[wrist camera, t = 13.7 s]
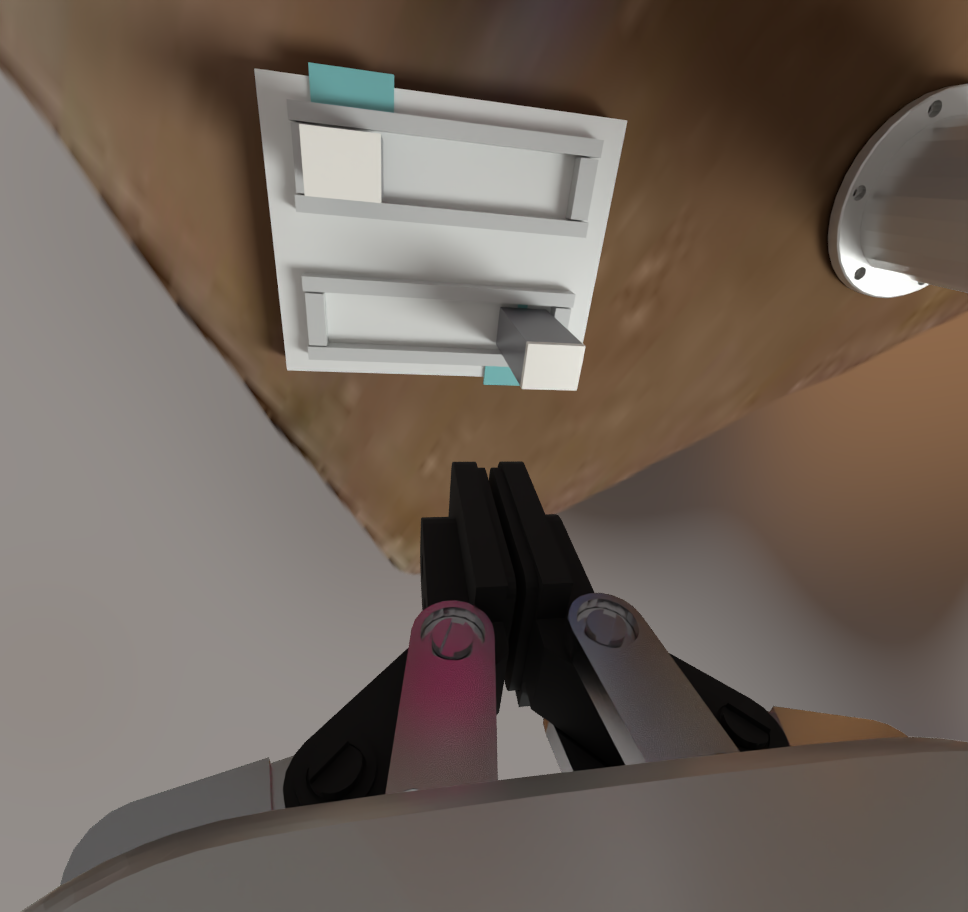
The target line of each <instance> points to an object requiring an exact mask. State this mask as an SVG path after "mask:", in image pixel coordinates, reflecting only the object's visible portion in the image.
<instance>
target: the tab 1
mask: <svg viewBox="0 0 968 912" xmlns="http://www.w3.org/2000/svg"><path fill="white" fill-rule="evenodd" d="M299 130H300V143H301V156H302V169H303V182H304V195H305V196H311V197H322V198H332V199H343V200H353V201H364V202H374V203H381V202H382V198H383V194H384V177H383V139H382V136H381V134H379V133H371V132H363V131H355V130H346V129H338V128H330V127H322V126H314V125H305V124H299Z"/></svg>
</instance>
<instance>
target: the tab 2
mask: <svg viewBox="0 0 968 912" xmlns="http://www.w3.org/2000/svg"><path fill="white" fill-rule="evenodd" d="M496 345H497V347H498V349H499V350H500V352H501V354H502V356H503V357H504V359H505V361H506V362H507V364H508V366H509V368H510V369H511V371H512V373H513V374H514V376H515V378H516V380H517V381H518V383H519V385H520V387H521V388H522V389H542V390H577V386H578V381H579V376H580V371H581V366H582V362H583V357H584V352H585V347H586V346H585V345H584V344H582V343H581V342H580V341H579V340H578V339H577V338H576V337H575V336H574V335H573V334H572V333H571V332H570V331H569V330H568V329H566V328H565V327H564V326H563V325H562V324H561V323H560V322H559V321H558V320H557V319H556V318H555V317H554V316H553V315H552V314H551V313H549V312H548V311H547V310H546V309H529V308H512V307H500V312H499V321H498V331H497V340H496Z"/></svg>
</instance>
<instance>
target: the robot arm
mask: <svg viewBox="0 0 968 912" xmlns="http://www.w3.org/2000/svg"><path fill="white" fill-rule="evenodd" d="M828 251H829V256H830V260H831V264H832V267H833V269H834V271H835V272H836V274H837V276H838V278H839V279H840V280H841V281H842V282H843V283H844V284H845V285H846V286H847V287H848V288H850V289H852V290H854V291H856V292H858V293H861V294H865V295H869V296H872V297H880V298H891V297H898V296H903V295H906V294H909V293H912V292H915V291H918V290H920V289H922V288H924V287H926V286H928V285H935V286H939V287H944V288H948V289H953V290H957V291H962V292H966V293H968V84H962V85H955V86H948V87H944V88H941V89H938V90H935V91H932V92H929V93H927V94H925V95H923V96H921V97H920V98H918V99H916V100H914V101H912V102H911V103H909V104H907V105H906V106H905V107H903V108H902V109H901V110H900V111H898V112H897V113H896V114H894V115H893V116H892V117H891V118H889V119H888V120H887V121H886V122H885V123H884V124H883V125H882V126H881V127H880V128H879V130H878V131H877V132H876V133H875V134H874V135H873V136H872V137H871V138H870V139H869V141H868V142H867V143H866V145H865V146H864V147H863V149H862V150H861V151H860V152H859V154H858V155H857V157H856V158H855V160H854V162H853V163H852V165H851V167H850V169H849V170H848V172H847V174H846V175H845V177H844V180H843V182H842V184H841V187H840V189H839V191H838V193H837V196H836V199H835V202H834V206H833V209H832V213H831V216H830V223H829V230H828ZM420 567H421V591H422V609H423V611H422V612H421V613H420V614H419V615H418V617H417V618H416V619H415V621H414V624H413V627H412V630H411V636H410V642H409V648H408V649H407V650H405V651H404V652H403V653H402V654H401V655H400V656H399V657H398V658H397V659H396V660H395V661H393V662H392V663H391V664H390V665H389V666H388V667H387V668H386V669H385V670H384V671H382V672H381V674H379V675H378V676H377V677H376V678H375V679H374V680H373V681H372V682H371V683H369V684H368V685H367V686H366V687H365V688H364V689H363V690H362V691H361V692H360V693H358V694H357V695H356V696H355V697H354V698H353V699H352V700H351V701H350V702H349V703H348V704H346V705H345V706H344V707H343V708H342V709H341V710H340V711H339V712H338V713H337V714H336V715H334V716H333V717H332V718H331V719H330V720H329V721H328V722H327V723H326V724H325V725H324V726H323V727H322V728H320V729H319V730H318V731H317V732H316V733H315V734H314V735H313V736H311V737H310V738H309V739H308V740H307V741H306V742H305V743H304V744H303V745H302V747H301V748H300V749H299V750H298V751H297V752H296V754H295V755H294V756H291V757H289V758H285V759H283V760H279V761H276V762H273V763H270V759H269V758H265V759H262V760H259V761H256V762H253V763H250V764H247V765H244V766H241V767H238V768H235V769H232V770H229V771H225V772H222V773H219V774H216V775H213V776H210V777H207V778H204V779H201V780H198V781H195V782H192V783H189V784H185V785H183V786H179V787H176V788H173V789H170V790H167V791H164V792H161V793H158V794H155V795H152V796H149V797H146V798H143V799H140V800H136V801H133V802H130V803H128V804H126V805H124V806H122V807H120V808H118V809H116V810H114V811H112V812H110V813H109V814H107V815H106V816H105V817H104V818H103V819H101V820H100V821H99V822H98V823H97V824H95V825H94V826H93V827H92V828H90V829H89V831H88V832H87V833H86V834H85V836H84V837H83V838H82V839H81V841H80V842H79V843H78V845H77V846H76V847H75V849H74V850H73V852H72V854H71V856H70V859H69V861H68V863H67V866H66V868H65V870H64V873H63V877H62V881H61V885H60V886H59V887H57V888H56V889H54V890H53V891H52V892H50V893H48V894H47V895H45V896H44V897H42V898H41V899H39V900H37V901H36V902H34V903H33V904H31V905H30V906H28V907H27V908H25V909H24V910H22V911H21V912H968V742H964V741H957V740H951V739H942V738H926V737H908V736H907V735H906V734H904V733H903V732H901V731H899V730H897V729H895V728H894V727H892V726H890V725H888V724H885V723H882V722H879V721H875V720H871V719H863V718H856V717H848V716H841V715H834V714H827V713H820V712H813V711H805V710H798V709H790V708H783V707H776V706H773V707H772V709H771V710H770V712H768V711H766V710H765V709H764V708H763V707H762V706H760V705H759V704H757V703H756V702H755V701H753V700H752V699H750V698H748V697H747V696H745V695H743V694H741V693H739V692H737V691H736V690H734V689H732V688H730V687H728V686H727V685H725V684H723V683H722V682H720V681H718V680H716V679H714V678H713V677H711V676H709V675H707V674H706V673H704V672H702V671H700V670H698V669H696V668H695V667H693V666H691V665H689V664H688V663H686V662H684V661H682V660H681V659H679V658H677V657H675V656H673V655H672V654H670V653H668V651H667V650H666V649H665V647H664V646H663V644H662V643H661V642H660V640H659V639H658V638H657V636H656V635H655V634H654V632H653V631H652V629H651V628H650V626H649V625H648V624H647V622H646V621H645V620H644V618H643V617H642V615H641V614H640V613H639V612H638V611H637V610H636V609H635V608H634V607H633V606H631V605H630V604H629V603H627V602H626V601H624V600H623V599H620V598H618V597H615V596H613V595H609V594H604V593H594V591H593V588H592V586H591V584H590V582H589V580H588V577H587V576H586V573H585V571H584V569H583V567H582V564H581V562H580V560H579V558H578V555H577V553H576V551H575V549H574V547H573V544H572V542H571V540H570V538H569V536H568V533H567V531H566V529H565V527H564V525H563V522H562V520H561V519H560V517H559V516H558V515H556V514H549V515H545V513H544V510H543V508H542V506H541V503H540V501H539V498H538V496H537V494H536V491H535V489H534V486H533V484H532V481H531V479H530V477H529V474H528V472H527V469H526V467H525V465H524V463H523V462H499V464H498V468H491V469H490V474H489V480H488V477H487V473H486V470H485V468H478V467H477V464H476V462H453V463H452V468H451V484H450V501H449V517H427V518H421V540H420ZM504 680H505V684H506V688H507V690H508V691H512V690H515V691H516V696H517V701H518V704H519V707H522V706H530V707H531V709H532V710H533V711H535V712H536V713H537V714H539V715H540V716H542V717H543V725H544V729H545V733H546V736H547V738H548V741H549V743H550V745H551V748H552V750H553V753H554V755H555V758H556V760H557V763H558V765H559V767H560V770H561V772H562V773H556V774H547V775H539V776H531V777H522V778H515V779H507V780H498V774H497V773H498V772H497V726H496V715H497V714H498V713H499V708H500V703H501V696H502V690H503V684H504Z"/></svg>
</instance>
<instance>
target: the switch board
mask: <svg viewBox="0 0 968 912" xmlns="http://www.w3.org/2000/svg"><path fill="white" fill-rule="evenodd" d="M308 67H309V76H305V75H298V74H291V73H284V72H277V71H269V70H262V69H255V68H254V72H255V81H256V91H257V100H258V109H259V118H260V127H261V136H262V145H263V154H264V163H265V173H266V182H267V191H268V200H269V209H270V218H271V227H272V236H273V245H274V254H275V264H276V273H277V282H278V291H279V300H280V309H281V318H282V327H283V336H284V345H285V355H286V364H287V370H297V371H328V372H360V373H391V374H422V375H453V376H484V380H483V384H484V385H516V386H520V385H519V383H518V381H517V380H516V378H515V376H514V374H513V373H512V371H511V369H510V368H509V366H508V364H507V362H506V361H505V359H504V357H503V356H502V354H501V352H500V350H499V349H498V347H497V345H496V340H497V331H498V321H499V312H500V307H512V308H529V309H546V310H547V311H548V312H549V313H551V314H552V315H553V316H554V317H555V318H556V319H557V320H558V321H559V322H560V323H561V324H562V325H563V326H564V327H565V328H566V329H568V330H569V331H570V332H571V333H572V334H573V335H574V336H575V337H576V338H577V339H578V340H579V341H580V342H581V343H582V344H583V339H584V334H585V329H586V324H587V319H588V314H589V309H590V304H591V299H592V294H593V290H594V285H595V280H596V275H597V270H598V265H599V260H600V255H601V250H602V245H603V240H604V235H605V230H606V225H607V220H608V215H609V210H610V205H611V200H612V195H613V190H614V185H615V180H616V175H617V170H618V165H619V160H620V155H621V150H622V145H623V140H624V135H625V130H626V125H627V120H620V119H613V118H606V117H599V116H592V115H585V114H577V113H570V112H563V111H556V110H549V109H542V108H534V107H527V106H520V105H513V104H506V103H499V102H491V101H484V100H477V99H470V98H463V97H456V96H448V95H441V94H434V93H427V92H420V91H413V90H406V89H398V88H394V75H393V74H386V73H379V72H372V71H365V70H358V69H351V68H344V67H337V66H330V65H324V64H317V63H310V62H308ZM299 124H305V125H314V126H322V127H330V128H338V129H346V130H355V131H363V132H371V133H379V134H381V136H382V139H383V177H384V194H383V198H382V202H381V203H374V202H364V201H353V200H343V199H332V198H322V197H311V196H305V195H304V182H303V169H302V156H301V143H300V130H299Z"/></svg>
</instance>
